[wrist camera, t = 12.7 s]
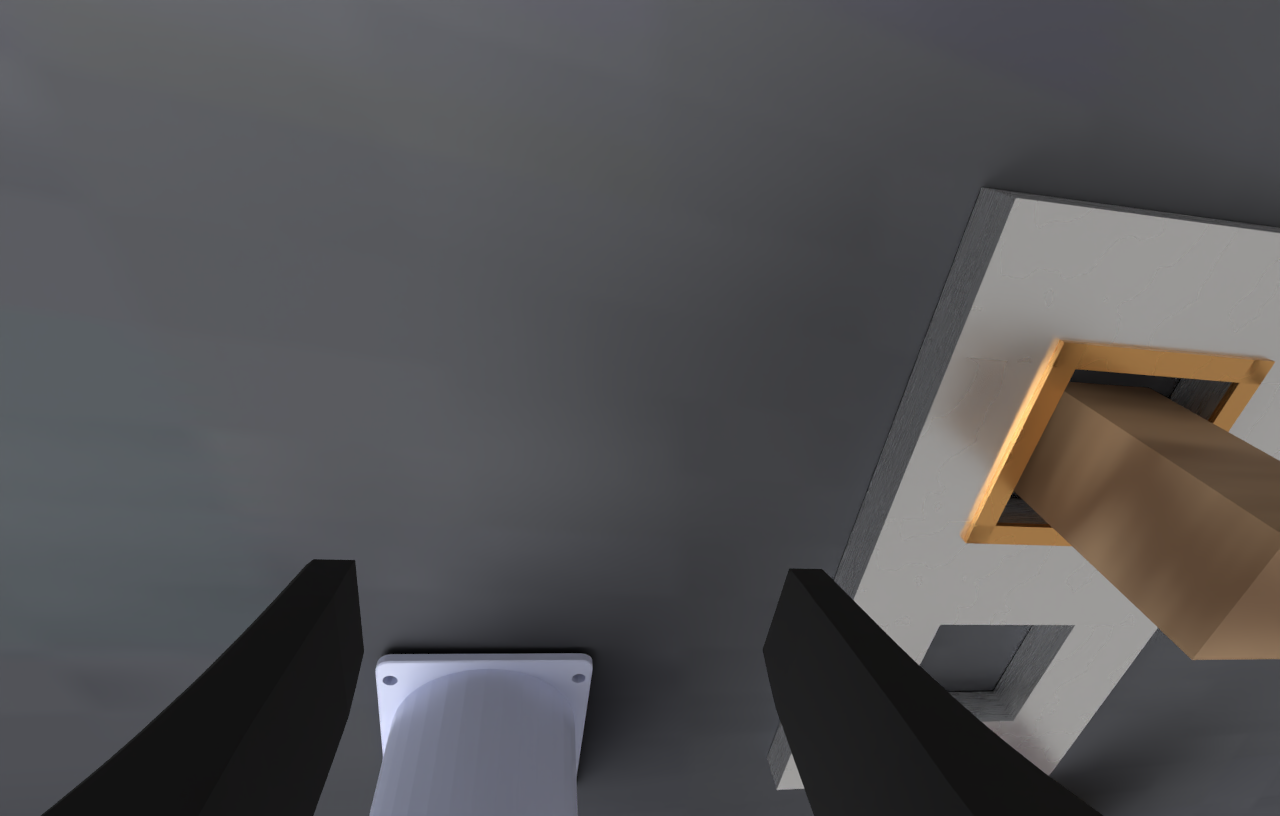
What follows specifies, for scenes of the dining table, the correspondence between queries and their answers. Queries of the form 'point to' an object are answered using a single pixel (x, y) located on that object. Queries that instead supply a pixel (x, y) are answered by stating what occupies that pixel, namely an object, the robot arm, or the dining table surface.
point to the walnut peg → (1166, 515)
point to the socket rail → (1015, 420)
